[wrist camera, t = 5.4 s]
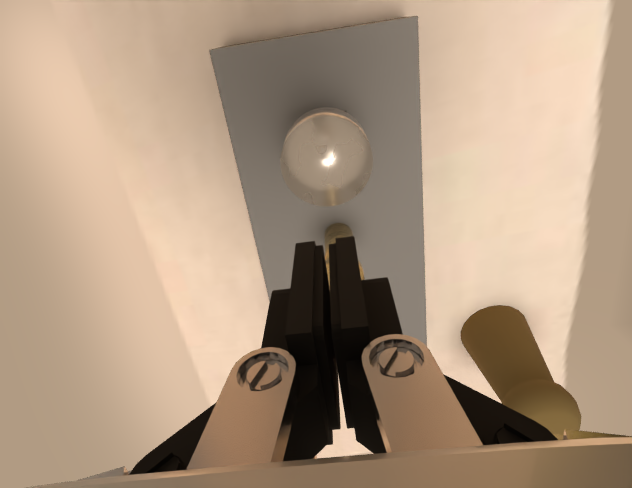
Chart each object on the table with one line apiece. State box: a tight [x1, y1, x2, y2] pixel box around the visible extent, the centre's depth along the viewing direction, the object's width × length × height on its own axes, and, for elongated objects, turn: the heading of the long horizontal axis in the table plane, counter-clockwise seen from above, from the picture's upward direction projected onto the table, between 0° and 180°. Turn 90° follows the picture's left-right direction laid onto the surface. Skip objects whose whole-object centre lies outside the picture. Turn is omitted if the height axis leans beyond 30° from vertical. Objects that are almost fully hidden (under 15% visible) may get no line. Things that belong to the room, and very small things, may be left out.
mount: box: [209, 16, 427, 346], centre depth 31 cm, size 26×12×4 cm, turn 8°
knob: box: [280, 107, 373, 207], centre depth 24 cm, size 5×5×6 cm
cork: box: [461, 305, 581, 435], centre depth 34 cm, size 6×6×11 cm
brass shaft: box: [325, 223, 365, 287], centre depth 27 cm, size 3×3×6 cm
